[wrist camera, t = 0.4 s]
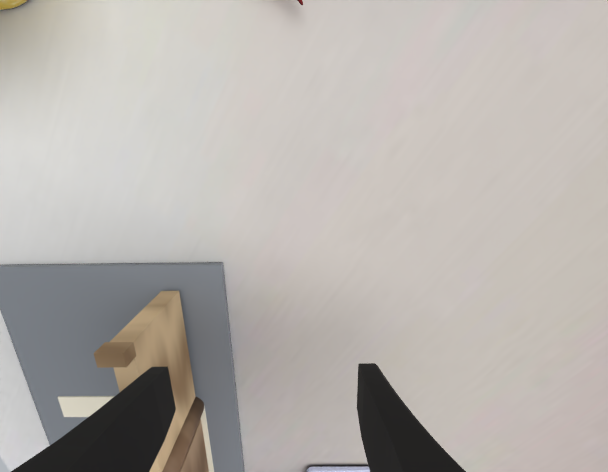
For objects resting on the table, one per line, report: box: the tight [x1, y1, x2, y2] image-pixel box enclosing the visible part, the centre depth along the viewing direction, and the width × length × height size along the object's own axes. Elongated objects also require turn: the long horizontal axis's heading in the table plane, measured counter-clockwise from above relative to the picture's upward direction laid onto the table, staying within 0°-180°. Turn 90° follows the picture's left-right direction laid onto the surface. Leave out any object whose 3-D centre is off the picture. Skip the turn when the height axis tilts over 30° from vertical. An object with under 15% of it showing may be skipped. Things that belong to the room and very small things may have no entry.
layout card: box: [0, 262, 244, 472], centre depth 22 cm, size 21×16×1 cm
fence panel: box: [94, 291, 196, 472], centre depth 18 cm, size 9×1×6 cm, turn 1°
